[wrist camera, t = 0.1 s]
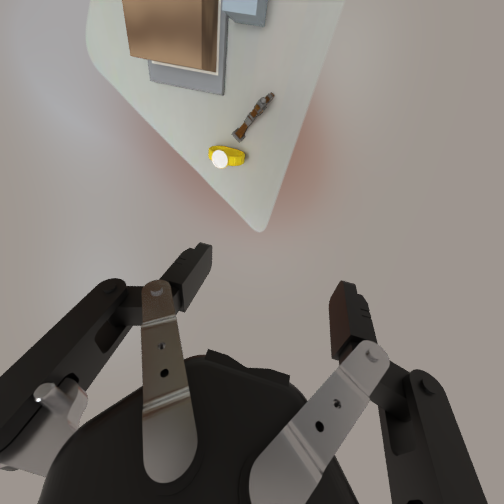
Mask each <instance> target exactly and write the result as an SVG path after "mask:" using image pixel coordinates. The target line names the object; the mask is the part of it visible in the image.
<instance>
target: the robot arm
mask: <svg viewBox="0 0 504 504" xmlns="http://www.w3.org/2000/svg"><path fill="white" fill-rule="evenodd" d="M211 266H212V245H208V244H205V243H201V242H200V243H199V244H198V245H197V246H196V248H195V249H192V248H189V249H187V250H185V251H184V252H182V253H181V255H180V256H179V257H178V258H177V259H176V260H175V262H174V263H173V264H172V265H171V266H170V268H169V269H168V270H167V271H166V272H165V273H164V274H163V276H162V277H161V278H160V279H159V280H154V281H151V282H149V283H147V284H146V285H145V286H126V283H125V282H124V281H123V280H121V279H117V278H113V279H108V280H105V281H103V282H101V283H99V284H98V285H97V286H96V287H95V288H94V289H93V290H92V291H91V292H90V293H88V294H87V296H85V297H84V298H83V299H82V300H81V301H80V302H79V303H78V304H77V305H76V306H75V307H74V308H73V309H72V310H70V312H68V313H67V314H66V315H65V316H64V317H63V318H62V319H61V320H60V321H59V322H58V323H57V324H56V325H55V326H54V327H53V328H52V329H50V330H49V331H48V332H47V333H46V334H45V335H44V336H43V337H42V338H41V339H40V340H39V341H38V342H37V343H36V344H35V345H34V346H33V347H31V349H29V350H28V351H27V352H26V353H25V354H24V355H23V356H22V357H21V358H20V359H19V360H18V361H17V362H16V363H15V364H14V365H12V366H11V367H10V368H9V369H8V370H7V371H6V372H5V373H4V374H3V375H2V376H1V377H0V469H3V470H7V471H15V470H18V469H21V470H24V471H27V472H30V473H33V474H37V475H41V476H43V477H46V479H45V482H44V485H43V489H42V492H41V496H40V498H39V501H38V504H359V503H358V501H357V499H356V497H355V495H354V493H353V491H352V489H351V487H350V485H349V483H348V481H347V479H346V477H345V475H344V473H343V471H342V469H341V467H340V465H339V463H338V461H337V459H336V457H335V453H336V452H337V450H338V449H339V447H340V446H341V444H342V442H343V441H344V439H345V438H346V436H347V434H348V433H349V432H350V430H351V429H352V427H353V426H354V424H355V423H356V421H357V419H358V418H359V417H360V415H361V414H362V412H363V411H364V409H365V408H366V406H367V405H368V403H369V401H370V400H371V401H372V402H374V403H375V404H377V405H378V409H379V416H380V423H381V430H382V436H383V443H384V451H385V458H386V464H387V471H388V477H389V485H390V492H391V499H392V504H488V503H487V501H486V498H485V496H484V493H483V490H482V488H481V485H480V482H479V480H478V477H477V475H476V472H475V469H474V467H473V464H472V461H471V459H470V456H469V453H468V451H467V448H466V445H465V443H464V440H463V438H462V435H461V432H460V430H459V427H458V425H457V423H456V420H455V417H454V414H453V412H452V409H451V406H450V403H449V401H448V398H447V396H446V393H445V391H444V389H443V387H442V386H441V385H440V383H439V382H438V381H437V380H436V379H435V378H434V377H432V376H431V375H430V374H428V373H427V372H425V371H422V370H418V369H416V370H413V371H411V372H408V371H406V370H405V369H403V368H401V367H400V366H398V365H396V364H394V363H393V362H391V361H390V360H389V357H388V355H387V353H386V352H385V351H384V350H383V348H382V347H380V346H379V345H378V344H377V340H376V336H375V332H374V327H373V323H372V320H371V315H370V313H369V307H368V303H367V302H366V300H365V299H364V297H363V296H362V295H360V294H357V290H356V285H355V284H353V283H349V282H345V281H340V282H339V284H338V286H337V287H336V289H335V291H334V293H333V294H332V296H331V298H330V301H329V320H330V337H331V353H332V354H331V355H332V359H335V360H339V367H338V368H337V369H336V371H334V372H333V374H332V375H331V376H330V377H329V378H328V379H327V380H326V381H325V383H324V384H323V385H322V386H321V387H320V388H319V389H318V390H317V391H316V393H315V394H314V395H313V396H312V397H311V398H310V399H309V400H308V401H307V400H306V398H305V397H304V395H303V394H302V393H301V392H300V391H299V390H298V389H297V388H296V387H295V386H294V385H292V384H291V383H290V382H289V379H290V375H287V374H284V373H281V372H277V371H275V370H271V369H263V368H247V367H245V366H243V365H242V364H240V363H239V362H237V361H236V360H234V359H232V358H231V357H229V356H228V355H225V354H222V353H219V352H216V351H213V350H209V349H208V351H207V353H206V355H197V356H192V357H189V358H186V359H184V358H183V352H182V347H181V341H180V335H179V329H178V324H177V318H176V314H177V313H178V311H182V312H185V311H186V310H187V308H188V307H189V305H190V303H191V302H192V300H193V298H194V297H195V295H196V293H197V292H198V290H199V288H200V287H201V285H202V284H203V282H204V280H205V279H206V277H207V275H208V274H209V272H210V269H211ZM137 325H138V326H139V325H140V326H141V345H142V347H141V349H142V378H143V386H142V387H140V388H139V389H137V390H136V391H134V392H132V393H131V394H129V395H128V396H126V397H125V398H123V399H122V400H120V401H118V402H117V403H116V404H114V405H112V406H111V407H109V408H108V409H106V410H105V411H103V412H101V413H100V414H98V415H97V416H95V417H94V418H92V419H91V420H89V421H88V422H86V423H85V424H84V425H82V426H81V427H80V428H79V422H80V418H81V416H82V414H83V412H84V410H85V408H86V406H87V402H88V396H87V393H86V390H87V389H88V387H89V386H90V385H91V383H92V382H93V380H94V379H95V378H96V376H97V374H98V373H99V372H100V371H101V369H102V368H103V367H104V365H105V364H106V362H107V361H108V360H109V358H110V356H111V355H112V354H113V353H114V351H115V350H116V348H117V347H118V346H119V344H120V343H121V342H122V340H123V339H124V337H125V336H126V334H127V333H128V332H129V330H130V329H131V328H132V326H137Z"/></svg>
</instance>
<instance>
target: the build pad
mask: <svg viewBox="0 0 504 504" xmlns="http://www.w3.org/2000/svg"><path fill="white" fill-rule="evenodd" d="M222 4H223V0H219V1H218V32H217V62H216V72H210V71H205V70H200V69H194V68H189V67H184V66H178V65H173V64H168V63H162V62H157V61H152V60H148V66H149V75H150V81H154V82H159V83H164V84H169V85H174V86H179V87H184V88H189V89H194V90H199V91H204V92H209V93H214V94H219V95H224V87H225V68H226V49H227V30H228V15H227V14H226V13H225V12H224V11H222Z"/></svg>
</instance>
